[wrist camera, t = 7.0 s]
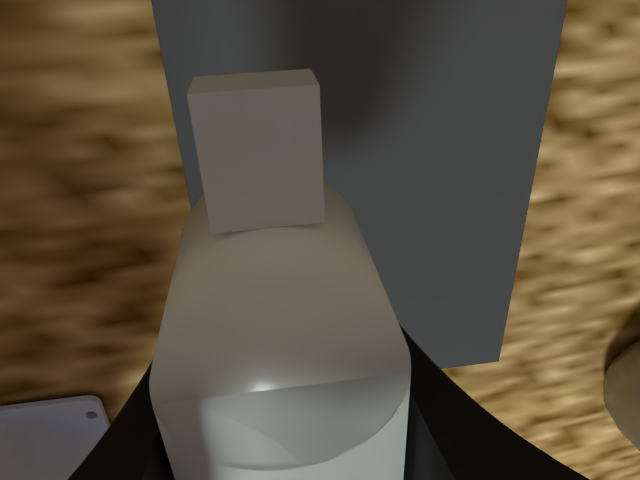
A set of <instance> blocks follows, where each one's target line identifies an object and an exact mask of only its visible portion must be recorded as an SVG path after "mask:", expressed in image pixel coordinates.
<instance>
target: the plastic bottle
mask: <svg viewBox="0 0 640 480" xmlns="http://www.w3.org/2000/svg"><path fill="white" fill-rule="evenodd" d="M603 393H604V403H605V406H606V408H607V410H608V411H609V413H610V415H611V417H612V419H613V420H614V422H615V424H616V426H617V428H618V429H619V430H620V431H621V433H622V434H623V435H624V436H625V437H626V438H627V439H628V440H629V441H630V442H631V443H632V444H633V445H634V446H635V447H636V448H637V449H638V450H639V451H640V340H639V341H637V342H636V343H634V344H632V345H631V346H629V347H628V348H627V349H625V350H624V351H623V352H622V353H620V354H619V356H618V357H617V358H616V359H615V360H614V361H613V362H612V364H611V365H610V366H609V368H608V370H607V372H606V374H605V377H604V381H603Z"/></svg>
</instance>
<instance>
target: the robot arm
mask: <svg viewBox="0 0 640 480" xmlns="http://www.w3.org/2000/svg"><path fill="white" fill-rule="evenodd" d="M399 325H400V324H399ZM400 328H401V330H402V333H403V335H404V337H405V340H406V343H407V345H408V348H409V353H410V358H411V380H410V394H409V408H408V422H407V436H406V450H405V464H404V478H403V480H589V479H588V478H586V477H584V476H583V475H581V474H579V473H577V472H576V471H574V470H572V469H570V468H569V467H567V466H565V465H563V464H562V463H560V462H559V461H557V460H555V459H554V458H552V457H551V456H549V455H548V454H546V453H545V452H543V451H542V450H540V449H539V448H537V447H535V446H534V445H532V444H531V443H529V442H528V441H526V440H525V439H523V438H522V437H520V436H519V435H518V434H516V433H515V432H513V431H512V430H511V429H509V428H508V427H507V426H505V425H504V424H503V423H501V422H500V421H499V420H497V419H496V418H495V417H494V416H492V415H491V414H490V413H489V412H487V411H486V410H485V409H484V408H482V407H481V406H480V405H479V404H478V403H477V402H475V401H474V400H473V399H472V398H471V397H470V396H469V395H467V394H466V393H465V392H464V391H463V390H462V389H461V388H460V387H459V386H457V385H456V384H455V383H454V382H453V381H452V380H451V379H450V378H449V377H448V376H447V375H446V374H445V373H444V372H443V371H442V370H441V369H440V368H439V367H438V366H437V365H436V364H435V363H434V362H433V361H432V360H431V359H430V358H429V357H428V356H427V355H426V354H425V352H424V351H423V350H422V349H421V348H420V347H419V346H418V345H417V344H416V343H415V341H414V340H413V339H412V338H411V337H410V336H409V335H408V333H407V332H406V331H405V330H404V329H403V328H402V326H401V325H400ZM152 362H153V360H152ZM152 362H151V364H150V366H149V367H148V369H147V371H146V372H145V374H144V376H143V377H142V379H141V380H140V382H139V384H138V385H137V387H136V388H135V390H134V391H133V393H132V394H131V396H130V397H129V399H128V401H127V402H126V404H125V405H124V407H123V408H122V410H121V411H120V413H119V414H118V415H117V417H116V418H115V420H114V421H113V422H112V424H111V425H110V423H109V420H108V418H107V415H106V412H105V410H104V407H103V405H102V402H101V400H100V399H99V398H98V397H96V396H93V395H85V396H77V397H69V398H61V399H53V400H45V401H38V402H30V403H22V404H14V405H6V406H0V480H175V478H174V475H173V472H172V468H171V465H170V462H169V459H168V455H167V452H166V449H165V446H164V442H163V439H162V436H161V432H160V429H159V426H158V423H157V419H156V416H155V413H154V410H153V406H152V402H151V397H150V392H149V378H150V373H151V367H152ZM93 412H95V413H93Z"/></svg>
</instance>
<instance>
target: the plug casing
mask: <svg viewBox="0 0 640 480" xmlns="http://www.w3.org/2000/svg"><path fill="white" fill-rule="evenodd" d="M187 99H188V104H189V110H190V116H191V121H192V127H193V133H194V139H195V144H196V150H197V156H198V162H199V167H200V173H201V179H202V184H203V190H204V194H203V195H202V196H201V197H200V198H199V199H198V201H197V202H196V203H195V205H194V206H193V208H192V209H191V211H190V213H189V214H188V216H187V218H186V221H185V224H184V227H183V230H182V234H181V239H180V243H179V247H178V252H177V256H176V261H175V265H174V269H173V274H172V278H171V283H170V287H169V292H168V296H167V300H166V305H165V309H164V314H163V318H162V323H161V327H160V331H159V336H158V340H157V345H156V349H155V353H154V358H153V362H152V367H151V373H150V378H149V392H150V397H151V402H152V406H153V410H154V413H155V416H156V419H157V423H158V426H159V429H160V432H161V436H162V439H163V442H164V446H165V449H166V452H167V455H168V459H169V462H170V465H171V468H172V472H173V475H174V478H175V480H403V478H404V464H405V450H406V436H407V422H408V408H409V394H410V380H411V358H410V353H409V348H408V345H407V343H406V340H405V337H404V335H403V333H402V330H401V328H400V325H399V323H398V320H397V318H396V316H395V313H394V311H393V308H392V306H391V303H390V301H389V299H388V296H387V294H386V291H385V289H384V286H383V284H382V282H381V279H380V277H379V274H378V272H377V269H376V267H375V265H374V262H373V260H372V257H371V255H370V252H369V250H368V248H367V245H366V243H365V240H364V238H363V235H362V233H361V231H360V228H359V226H358V223H357V221H356V219H355V216H354V214H353V212H352V210H351V208H350V207H349V205H348V203H347V202H346V201H345V199H344V198H343V197H342V196H341V195H340V194H339V193H338V192H337V191H336V190H335V189H334V188H333V187H331V186H330V185H329V184H327V183H326V182H324V181H323V158H322V133H321V108H320V84H319V83H318V81H317V79H316V77H315V75H314V74H313V72H312V70H311V69H299V70H284V71H270V72H255V73H241V74H226V75H212V76H198V77H194V78H193V80H192V83H191V85H190V87H189V90H188V92H187Z"/></svg>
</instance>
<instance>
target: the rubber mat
mask: <svg viewBox="0 0 640 480" xmlns="http://www.w3.org/2000/svg"><path fill="white" fill-rule="evenodd" d="M567 1H568V0H151V2H152V7H153V13H154V18H155V23H156V28H157V33H158V39H159V44H160V49H161V54H162V59H163V64H164V70H165V75H166V80H167V85H168V90H169V95H170V101H171V106H172V111H173V116H174V121H175V127H176V132H177V137H178V142H179V147H180V152H181V158H182V163H183V168H184V173H185V178H186V183H187V189H188V194H189V199H190V204H191V209H192V208H193V206H194V205H195V203H196V202H197V201H198V199H199V198H200V197H201V196H202V195H203V194H204V190H203V184H202V179H201V173H200V167H199V162H198V156H197V150H196V144H195V139H194V133H193V127H192V121H191V116H190V110H189V104H188V99H187V92H188V90H189V87H190V85H191V83H192V80H193V78H194V77H198V76H212V75H226V74H241V73H255V72H270V71H284V70H299V69H311V70H312V72H313V74H314V75H315V77H316V79H317V81H318V83H319V84H320V108H321V133H322V158H323V181H324V182H326V183H327V184H329V185H330V186H331V187H333V188H334V189H335V190H336V191H337V192H338V193H339V194H340V195H341V196H342V197H343V198H344V199H345V201H346V202H347V203H348V205H349V207H350V208H351V210H352V212H353V214H354V216H355V219H356V221H357V223H358V226H359V228H360V231H361V233H362V235H363V238H364V240H365V243H366V245H367V248H368V250H369V252H370V255H371V257H372V260H373V262H374V265H375V267H376V269H377V272H378V274H379V277H380V279H381V282H382V284H383V286H384V289H385V291H386V294H387V296H388V299H389V301H390V303H391V306H392V308H393V311H394V313H395V316H396V318H397V320H398V323H399V324H400V325H401V326H402V328H403V329H404V330H405V331H406V332H407V333H408V335H409V336H410V337H411V338H412V339H413V340H414V341H415V343H416V344H417V345H418V346H419V347H420V348H421V349H422V350H423V351H424V352H425V354H426V355H427V356H428V357H429V358H430V359H431V360H432V361H433V362H434V363H435V364H436V365H437V366H438V367H439V368H440V369H443V368H451V367H458V366H466V365H474V364H482V363H489V362H497V361H499V357H500V351H501V346H502V341H503V336H504V330H505V325H506V320H507V315H508V309H509V304H510V299H511V294H512V289H513V283H514V278H515V273H516V268H517V262H518V257H519V252H520V247H521V241H522V236H523V231H524V226H525V221H526V215H527V210H528V205H529V200H530V194H531V189H532V184H533V179H534V173H535V168H536V163H537V158H538V152H539V147H540V142H541V137H542V132H543V126H544V121H545V116H546V111H547V105H548V100H549V95H550V90H551V84H552V79H553V74H554V69H555V64H556V58H557V53H558V48H559V43H560V37H561V32H562V27H563V22H564V16H565V11H566V6H567Z"/></svg>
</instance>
